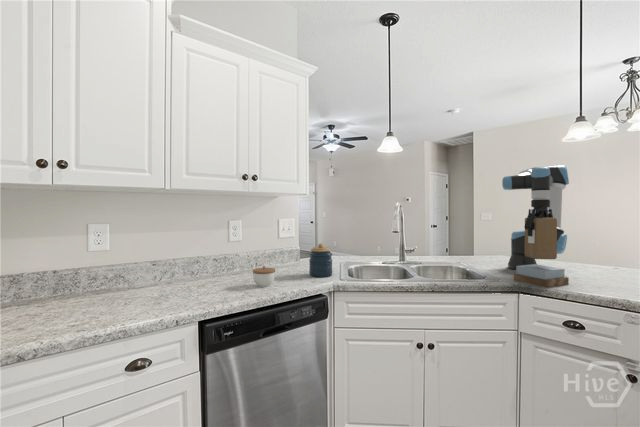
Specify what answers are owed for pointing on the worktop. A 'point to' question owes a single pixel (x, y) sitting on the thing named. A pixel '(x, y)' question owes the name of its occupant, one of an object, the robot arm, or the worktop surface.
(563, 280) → the tower base
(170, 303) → the worktop surface
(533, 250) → the block
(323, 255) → the canister
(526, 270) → the tower top
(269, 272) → the lidded jar
